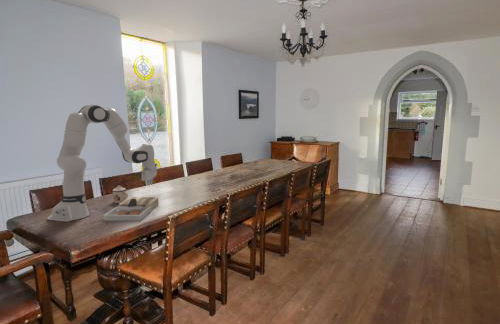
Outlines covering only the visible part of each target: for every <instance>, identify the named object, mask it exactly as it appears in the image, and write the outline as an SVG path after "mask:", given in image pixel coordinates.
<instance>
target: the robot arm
mask: <svg viewBox="0 0 500 324" xmlns="http://www.w3.org/2000/svg"><path fill="white" fill-rule="evenodd" d="M90 123H91V124H99V123H102V124H104V125H105V126H106V128H107V130H108V131H109V133H110V134H111V136H112V137H113V139H114V140H115V142H116V144H117V145H118V147H119V148H120V151H121V153H122V154H121V155H122V159H123V160H124V161H125V162H126V163H133V164H141V166H142V167H141V168H142V170H141V181H142V182H146V185H147V186H150V185H152V184H153V178H155V177H157V174H158V171H157V170H158V168H157V167H158V164H157V163H156V161H155V149H154V146H153V145H152V144H147V143H143V144H141V146H139V147H137V148H136V149H135V148H133V147H131V146H130V144H129V143H128V140H127V139H126V134H127V133H128V127H127V124H126V122H125V121H124V119H123V118H122V117H121V115H120V114H119V113H118V112H117V111H116V110H115V108H105V107H103V106H101V105H99V104H89V105H85V106H83V107H81V109H80V110H79V111H78V112H72V113H69V115H68V118H67V120H66V122H65V130H64V135H63V141H62V145H61V149H60V150H59V151H60V152H59V154H58V156H57V159H56V164H57V166H58V167H59V169H61V170H62V171H63V180H62V191H63V195H61V196H59V197H58V198H59V200H60V202H58V203H57V204H56V205H55V206H54V207H52V209H51V214H50V215H49V216H48V217H47V219H46V220H48V221H56V222H67V223H68V222H70V221H71V222H72V221H75V220H81V219H84V218H87V217H89V216H90V211H89V209H88V207H87V203H86V202H87V196H86V195H87V194H86V192H85V184H84V179H85V178H84V177H85V170H86V168H87V162H86V159H84V157H82V156H81V152H82V150H83V148H84V147H85V145H86V137H87V128H88V126H89V124H90Z"/></svg>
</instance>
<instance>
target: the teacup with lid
mask: <svg viewBox="0 0 500 324" xmlns="http://www.w3.org/2000/svg"><path fill="white" fill-rule="evenodd" d="M126 190H127V188H125V187H123V186H121V185H117V187H115V188H113V189H112V200H113V203H114V204H120V203H121V202H123V201H125V200H126V199H128V198H129V197H128V196H129V195H128V193H127V191H126Z"/></svg>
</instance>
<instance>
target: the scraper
mask: <svg viewBox="0 0 500 324" xmlns="http://www.w3.org/2000/svg"><path fill="white" fill-rule="evenodd" d="M136 203H137V201H136V199H131V200H130V202H129V204H128V206H119V205H118V206H116V209H115V210H116V212H142V210H143V206H135V205H136Z"/></svg>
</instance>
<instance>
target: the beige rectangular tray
mask: <svg viewBox="0 0 500 324" xmlns="http://www.w3.org/2000/svg"><path fill="white" fill-rule="evenodd" d="M131 199H136V201H137V203H136V205H135V206H143V207H151V211H152V210H154V209H155V208H156V207H157V206H159V204H160V203H159V197H158V196H157V197H156V196H154V197H153V196H129V197H127V199H126V200H125V201H123V202H121V203H118V206H128V204H129V202H130V200H131Z"/></svg>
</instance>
